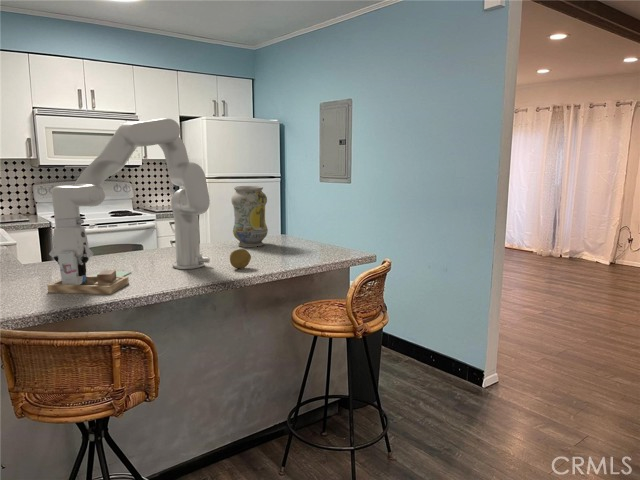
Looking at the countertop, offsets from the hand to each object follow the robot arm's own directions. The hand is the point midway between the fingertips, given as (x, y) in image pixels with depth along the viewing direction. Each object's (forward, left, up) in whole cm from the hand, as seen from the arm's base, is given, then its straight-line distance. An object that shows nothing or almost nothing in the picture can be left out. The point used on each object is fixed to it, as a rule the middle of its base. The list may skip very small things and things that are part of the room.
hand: (73, 274), depth 159 cm
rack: (-6, 0, -4) cm, 7 cm away
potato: (-50, -33, -5) cm, 59 cm away
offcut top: (-12, +1, -2) cm, 12 cm away
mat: (-4, -15, -4) cm, 16 cm away
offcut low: (-12, +1, -5) cm, 13 cm away
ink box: (0, 0, -3) cm, 3 cm away
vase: (-43, -84, -5) cm, 94 cm away
